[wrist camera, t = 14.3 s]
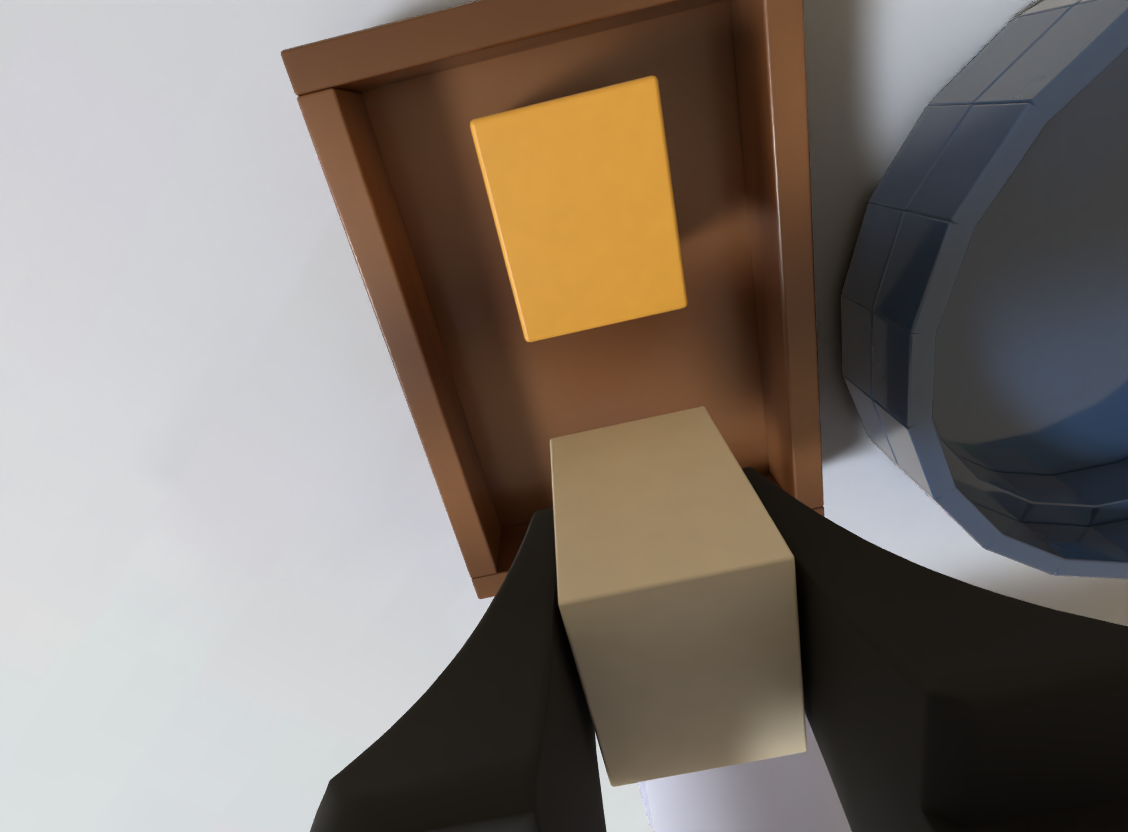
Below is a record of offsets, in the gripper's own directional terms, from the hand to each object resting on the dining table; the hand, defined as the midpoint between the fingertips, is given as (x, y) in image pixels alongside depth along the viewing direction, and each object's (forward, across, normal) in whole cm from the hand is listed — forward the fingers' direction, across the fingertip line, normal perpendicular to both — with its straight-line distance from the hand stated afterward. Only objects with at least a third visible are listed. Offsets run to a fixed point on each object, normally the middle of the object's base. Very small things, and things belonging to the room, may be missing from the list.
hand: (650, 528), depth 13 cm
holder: (+6, 0, -3) cm, 7 cm away
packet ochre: (+6, 0, -6) cm, 8 cm away
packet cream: (+1, 0, 0) cm, 1 cm away
